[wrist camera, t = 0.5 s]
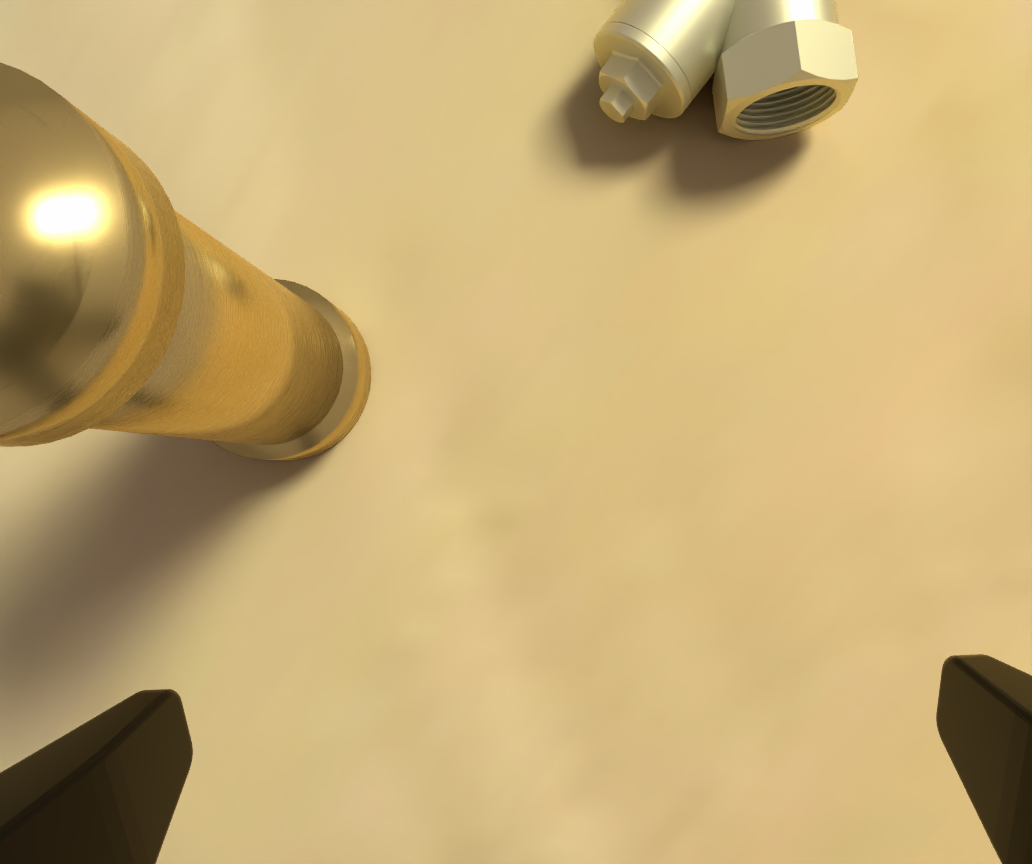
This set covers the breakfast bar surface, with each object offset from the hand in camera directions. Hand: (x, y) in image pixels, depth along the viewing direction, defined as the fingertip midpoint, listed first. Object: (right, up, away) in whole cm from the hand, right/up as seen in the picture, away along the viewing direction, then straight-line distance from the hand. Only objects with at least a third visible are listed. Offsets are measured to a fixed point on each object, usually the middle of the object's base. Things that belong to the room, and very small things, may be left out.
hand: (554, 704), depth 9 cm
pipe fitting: (+5, +16, +14) cm, 22 cm away
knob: (-7, +5, +14) cm, 17 cm away
